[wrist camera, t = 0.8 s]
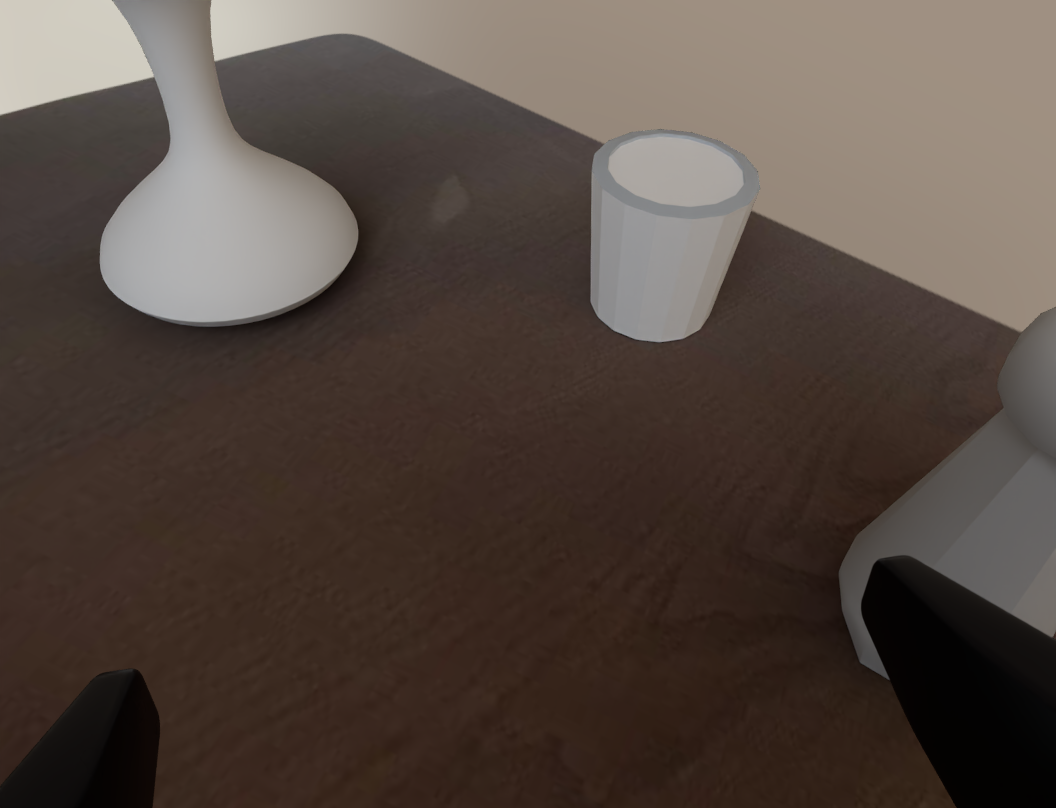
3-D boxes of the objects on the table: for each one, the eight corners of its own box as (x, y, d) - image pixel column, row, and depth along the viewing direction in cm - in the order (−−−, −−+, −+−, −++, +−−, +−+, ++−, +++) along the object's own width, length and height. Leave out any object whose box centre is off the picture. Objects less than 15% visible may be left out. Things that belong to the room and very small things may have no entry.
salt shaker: (1003, 596, 27) (1287, 303, 17) (1001, 755, 23) (1359, 495, 14) (830, 536, 28) (1004, 234, 19) (803, 676, 25) (1002, 391, 15)
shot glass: (634, 240, 40) (655, 110, 35) (750, 300, 37) (792, 168, 32) (547, 302, 37) (556, 167, 31) (668, 374, 34) (701, 238, 28)
